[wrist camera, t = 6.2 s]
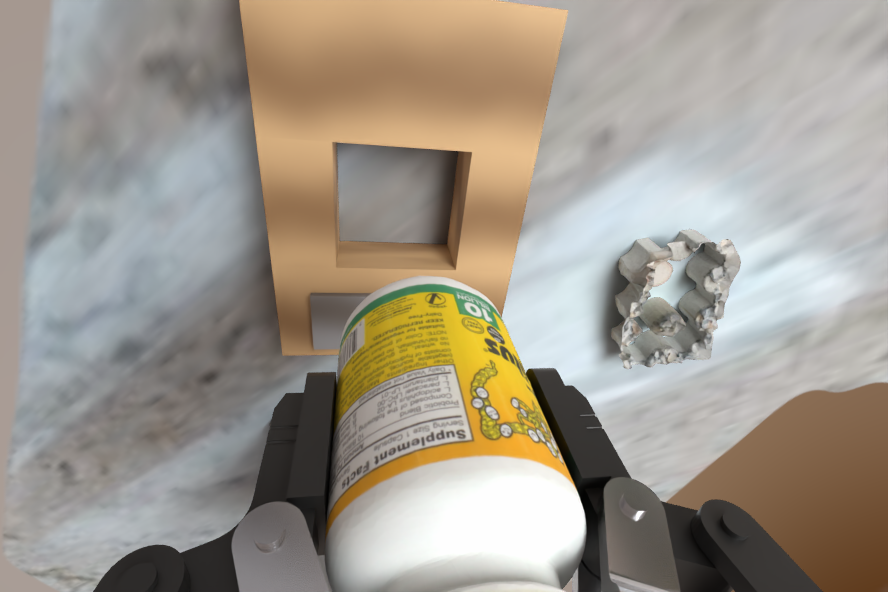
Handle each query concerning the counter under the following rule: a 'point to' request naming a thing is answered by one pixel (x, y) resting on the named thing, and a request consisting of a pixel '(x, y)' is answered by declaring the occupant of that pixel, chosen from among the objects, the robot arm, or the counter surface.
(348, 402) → the supplement bottle
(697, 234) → the egg carton
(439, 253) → the jig
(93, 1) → the counter surface
